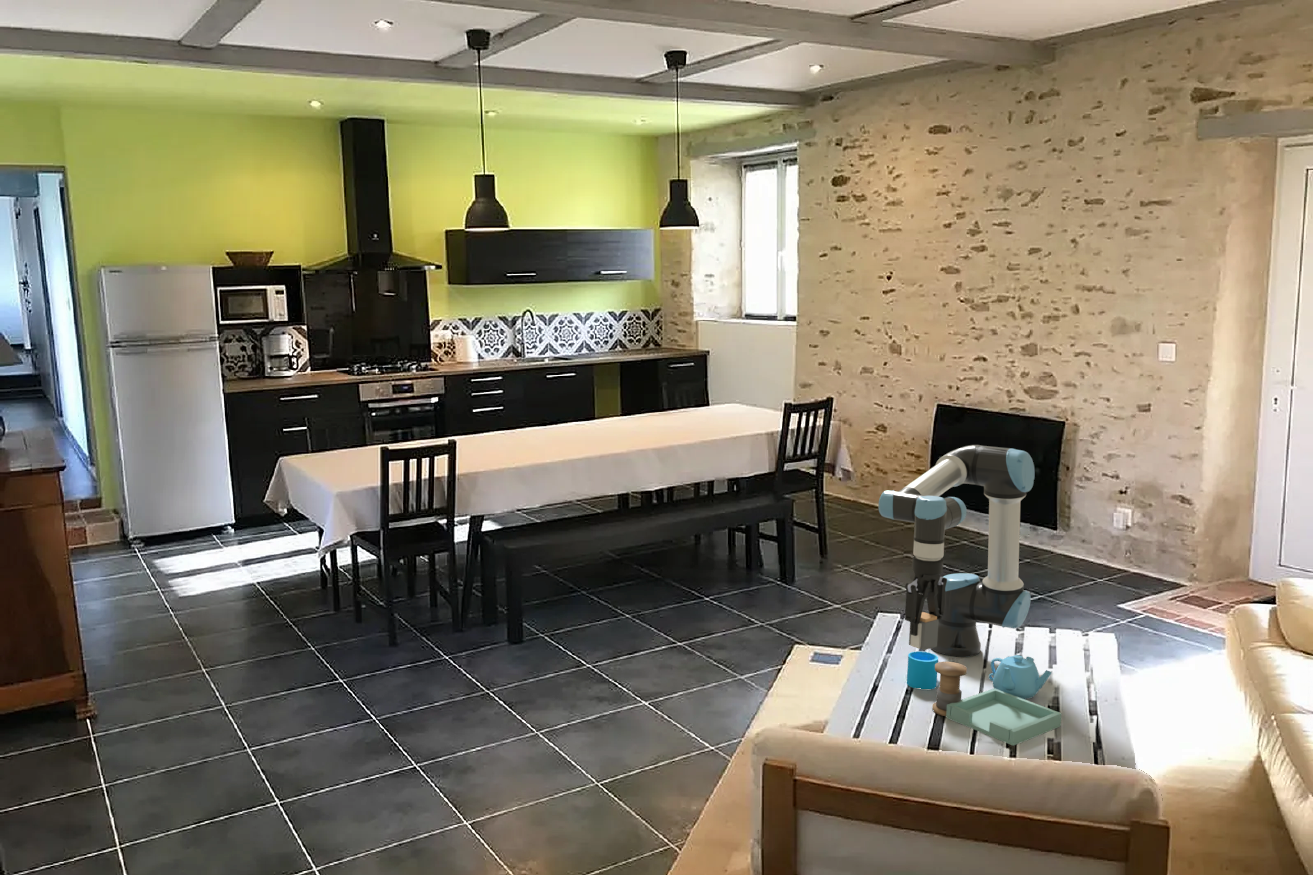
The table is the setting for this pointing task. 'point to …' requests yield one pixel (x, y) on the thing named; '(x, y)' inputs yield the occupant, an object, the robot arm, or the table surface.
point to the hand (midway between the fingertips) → (922, 644)
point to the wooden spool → (948, 685)
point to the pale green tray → (1004, 716)
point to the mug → (922, 670)
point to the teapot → (1017, 676)
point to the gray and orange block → (928, 631)
